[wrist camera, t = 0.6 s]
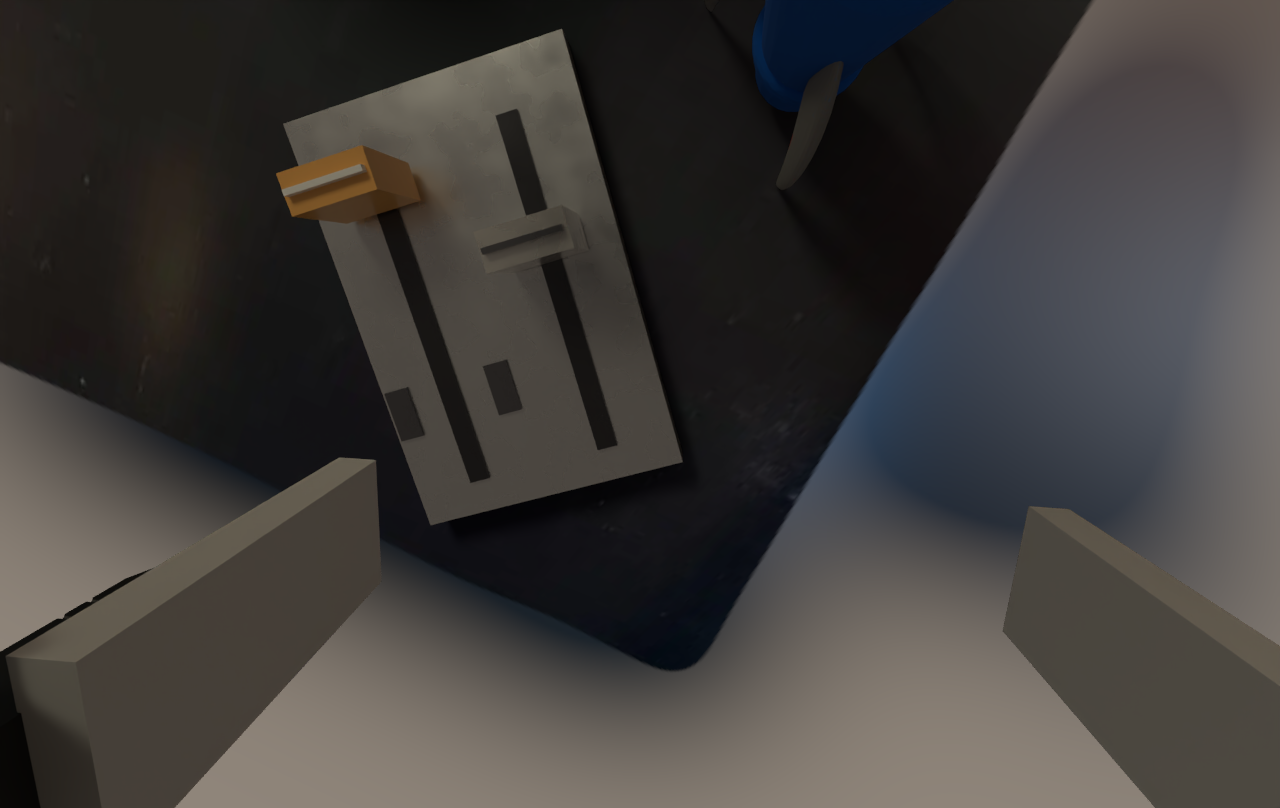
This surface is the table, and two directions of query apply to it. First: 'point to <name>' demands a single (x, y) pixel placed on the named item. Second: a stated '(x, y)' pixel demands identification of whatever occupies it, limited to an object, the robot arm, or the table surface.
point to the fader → (348, 186)
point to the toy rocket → (822, 58)
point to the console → (498, 285)
